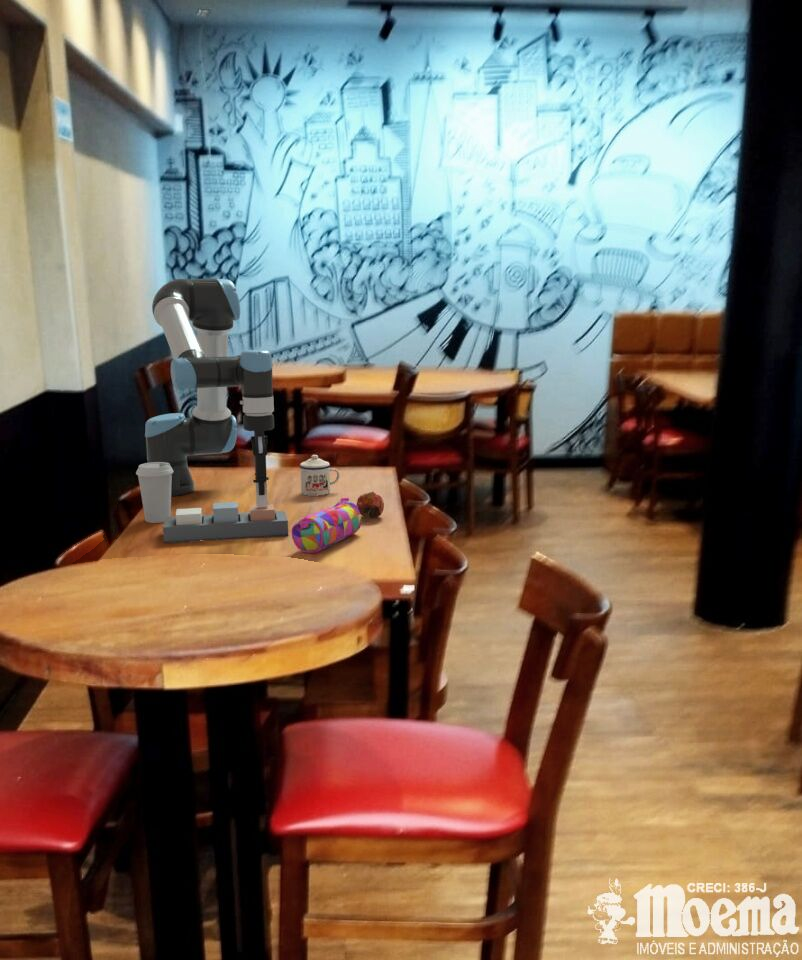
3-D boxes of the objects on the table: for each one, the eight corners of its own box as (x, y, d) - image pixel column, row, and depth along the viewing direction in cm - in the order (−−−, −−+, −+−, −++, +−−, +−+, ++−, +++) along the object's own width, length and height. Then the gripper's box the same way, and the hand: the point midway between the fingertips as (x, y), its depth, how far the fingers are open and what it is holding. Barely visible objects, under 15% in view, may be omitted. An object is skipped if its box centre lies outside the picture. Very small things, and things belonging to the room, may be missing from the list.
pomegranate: (382, 529, 228) (392, 500, 234) (373, 512, 223) (383, 482, 229) (357, 529, 231) (367, 500, 237) (348, 512, 226) (358, 483, 232)
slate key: (214, 520, 218) (213, 503, 217) (238, 518, 219) (237, 501, 218) (214, 526, 212) (213, 508, 211) (238, 525, 213) (237, 507, 212)
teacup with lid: (303, 497, 254) (302, 459, 251) (298, 490, 262) (297, 453, 260) (342, 495, 257) (342, 456, 254) (336, 488, 266) (336, 451, 263)
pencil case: (330, 530, 220) (330, 495, 218) (364, 533, 217) (363, 498, 215) (289, 553, 200) (288, 516, 198) (325, 558, 197) (324, 520, 195)
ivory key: (177, 526, 216) (176, 509, 215) (202, 525, 217) (201, 507, 216) (176, 532, 210) (175, 515, 209) (201, 531, 211) (200, 513, 211)
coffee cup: (166, 525, 224) (162, 469, 221) (132, 523, 226) (128, 467, 223) (182, 516, 233) (179, 462, 230) (150, 514, 235) (146, 460, 232)
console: (166, 532, 218) (165, 517, 217) (285, 525, 224) (284, 510, 223) (164, 543, 208) (163, 527, 207) (288, 536, 214) (287, 520, 213)
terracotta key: (250, 522, 220) (249, 505, 219) (274, 520, 221) (273, 504, 220) (251, 528, 214) (250, 511, 213) (275, 527, 215) (274, 509, 214)
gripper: (242, 410, 217) (246, 501, 222) (243, 417, 204) (247, 513, 209) (272, 409, 218) (275, 499, 223) (275, 416, 206) (278, 512, 211)
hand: (262, 506), depth 216 cm, fingers closed
